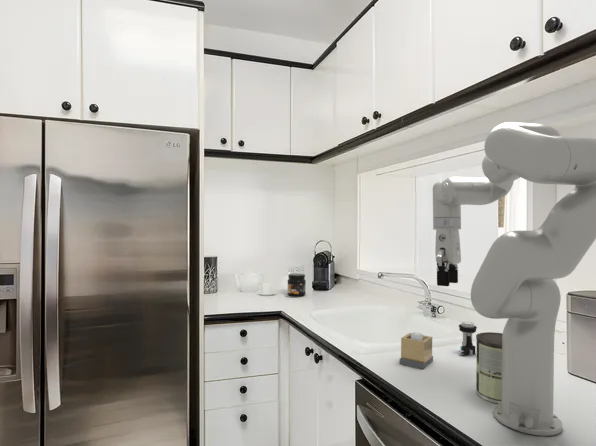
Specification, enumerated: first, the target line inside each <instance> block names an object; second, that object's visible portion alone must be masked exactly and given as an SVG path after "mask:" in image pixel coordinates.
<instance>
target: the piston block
mask: <svg viewBox="0 0 596 446" xmlns="http://www.w3.org/2000/svg"><path fill="white" fill-rule="evenodd" d="M410 333H411V339H414V340H420V341H423V335H424V334H423V333H420V332H410ZM433 362H434V356H433V355H432V357H431V358H430V359H429V360H428V361H426V362H425V363H421V362H416V361H412V360H407V359H403V358H401V357H400V358H399V365H402V366H407V367H410V368H414V369H419V370H424V369H425V368H427V367H428V366H429V365H431V364H432V363H433Z"/></svg>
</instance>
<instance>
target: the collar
mask: <svg viewBox="0 0 596 446" xmlns="http://www.w3.org/2000/svg"><path fill="white" fill-rule="evenodd" d="M411 333H412V332H409V333H407V334H405V335H404V336H402V337H400V358H403V359H407V360H412V361H416V362H421V363H425V362H426V361H428V360H429V359H430V358H431V357H432V356H433V336H429V335H424V334H423V341H420V340H414V339H411Z"/></svg>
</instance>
